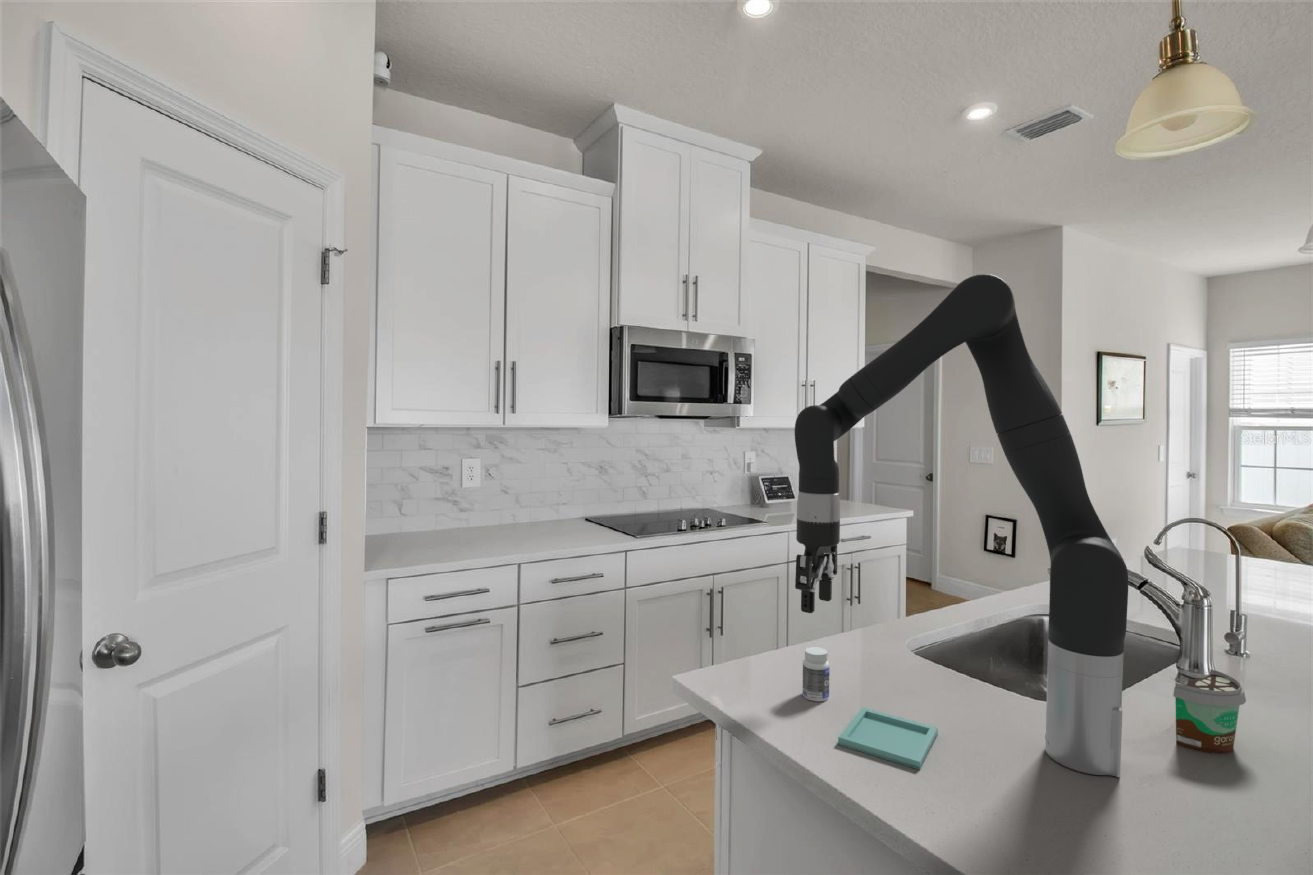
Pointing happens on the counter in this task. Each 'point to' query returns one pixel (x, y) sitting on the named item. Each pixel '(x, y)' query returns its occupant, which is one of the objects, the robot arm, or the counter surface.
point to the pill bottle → (816, 674)
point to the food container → (1208, 713)
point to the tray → (889, 737)
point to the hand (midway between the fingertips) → (816, 606)
